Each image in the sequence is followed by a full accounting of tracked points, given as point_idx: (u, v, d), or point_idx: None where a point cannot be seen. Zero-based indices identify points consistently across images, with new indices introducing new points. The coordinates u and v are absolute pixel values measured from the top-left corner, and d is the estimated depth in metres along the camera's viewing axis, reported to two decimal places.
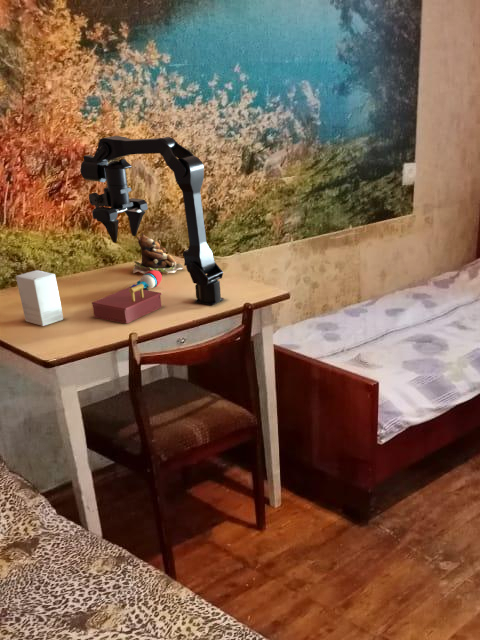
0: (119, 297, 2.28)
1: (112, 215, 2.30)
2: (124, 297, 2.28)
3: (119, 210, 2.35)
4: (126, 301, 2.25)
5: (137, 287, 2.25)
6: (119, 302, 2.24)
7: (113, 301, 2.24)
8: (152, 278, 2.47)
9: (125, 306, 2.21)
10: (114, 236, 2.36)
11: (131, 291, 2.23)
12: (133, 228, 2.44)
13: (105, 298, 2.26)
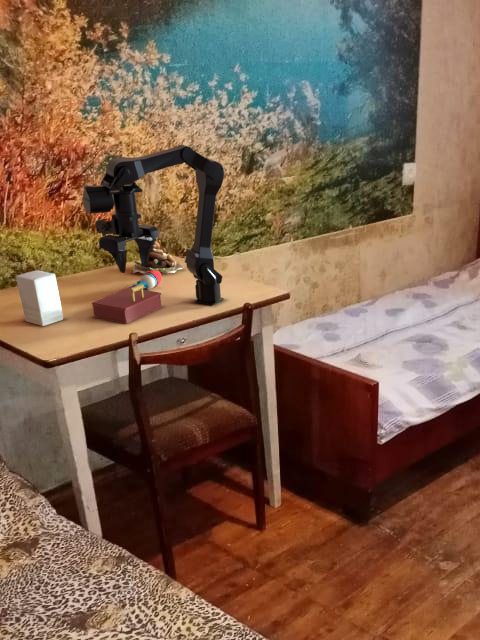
0: (119, 297, 2.28)
1: (120, 244, 2.12)
2: (124, 297, 2.28)
3: (128, 238, 2.17)
4: (126, 301, 2.25)
5: (137, 287, 2.25)
6: (119, 302, 2.24)
7: (113, 301, 2.24)
8: (152, 278, 2.47)
9: (125, 306, 2.21)
10: (122, 266, 2.18)
11: (131, 291, 2.23)
12: (143, 257, 2.26)
13: (105, 298, 2.26)
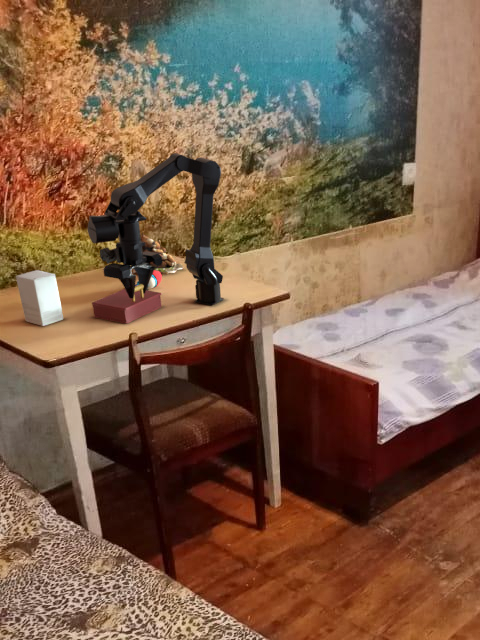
0: (119, 297, 2.28)
1: (125, 273, 2.15)
2: (124, 297, 2.28)
3: (136, 264, 2.21)
4: (126, 301, 2.25)
5: (137, 287, 2.25)
6: (119, 302, 2.24)
7: (113, 301, 2.24)
8: (152, 278, 2.47)
9: (125, 306, 2.21)
10: (131, 292, 2.22)
11: None
12: None
13: (105, 298, 2.26)
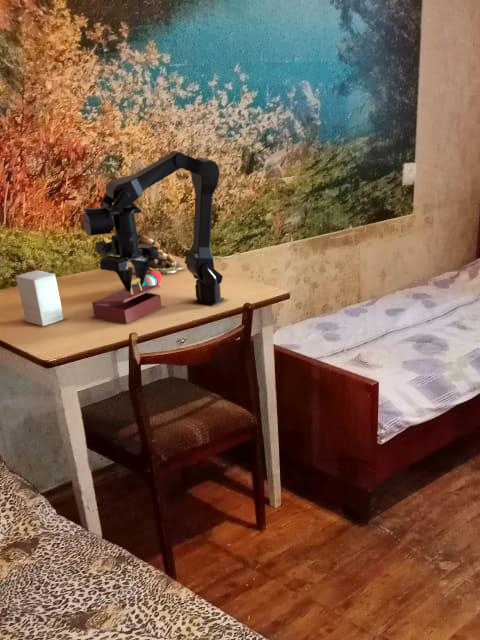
0: (119, 294, 2.27)
1: (121, 265, 2.14)
2: (123, 293, 2.27)
3: (133, 257, 2.20)
4: (125, 296, 2.24)
5: (133, 280, 2.24)
6: (118, 297, 2.23)
7: (112, 298, 2.24)
8: (152, 278, 2.47)
9: (124, 298, 2.20)
10: (128, 285, 2.21)
11: None
12: None
13: (105, 297, 2.26)
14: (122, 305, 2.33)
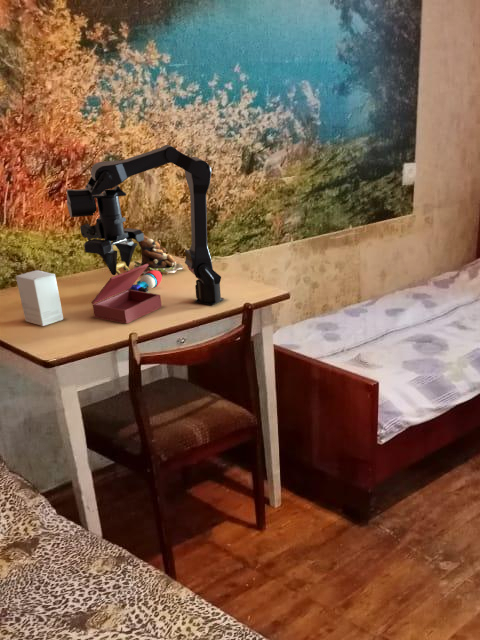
0: None
1: (106, 248, 2.13)
2: None
3: (118, 240, 2.19)
4: None
5: (117, 263, 2.23)
6: None
7: None
8: (152, 278, 2.47)
9: None
10: (113, 268, 2.21)
11: None
12: None
13: None
14: (122, 305, 2.33)
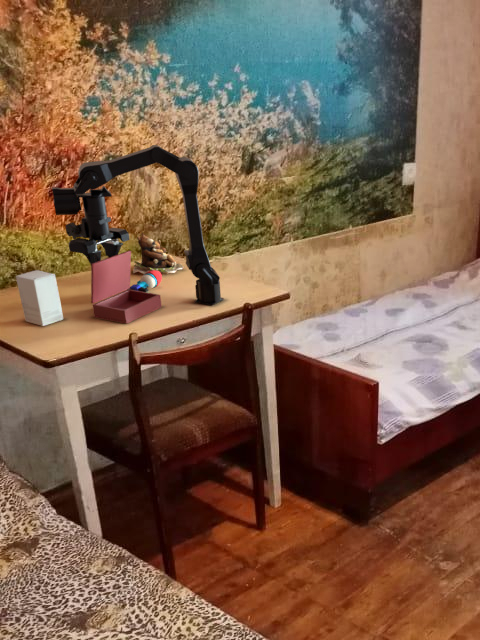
0: None
1: (90, 248, 2.15)
2: None
3: (102, 240, 2.21)
4: None
5: None
6: None
7: None
8: (152, 278, 2.47)
9: None
10: None
11: None
12: None
13: None
14: (122, 305, 2.33)
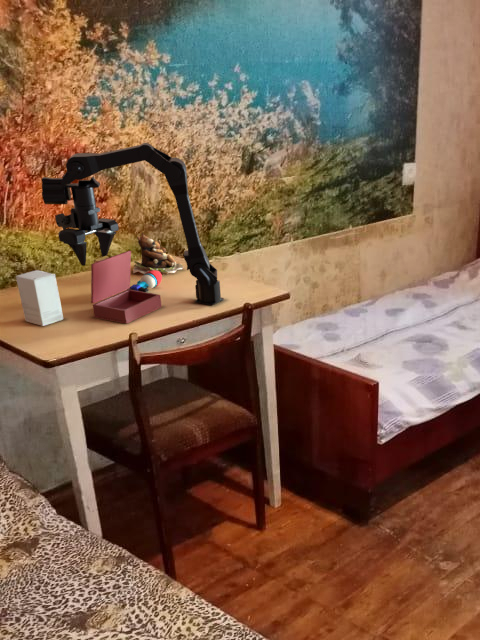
0: None
1: (79, 237, 2.18)
2: None
3: (87, 232, 2.23)
4: None
5: (99, 258, 2.24)
6: None
7: None
8: (152, 278, 2.47)
9: None
10: (82, 259, 2.24)
11: (96, 261, 2.23)
12: (103, 250, 2.32)
13: None
14: (122, 305, 2.33)
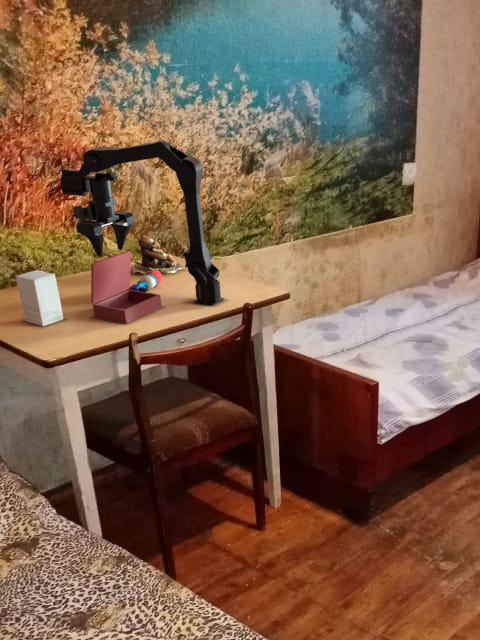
0: None
1: (97, 229, 2.23)
2: None
3: (104, 224, 2.27)
4: None
5: (99, 258, 2.24)
6: None
7: None
8: (152, 278, 2.47)
9: None
10: (99, 250, 2.29)
11: (96, 261, 2.23)
12: (119, 242, 2.36)
13: None
14: (122, 305, 2.33)
